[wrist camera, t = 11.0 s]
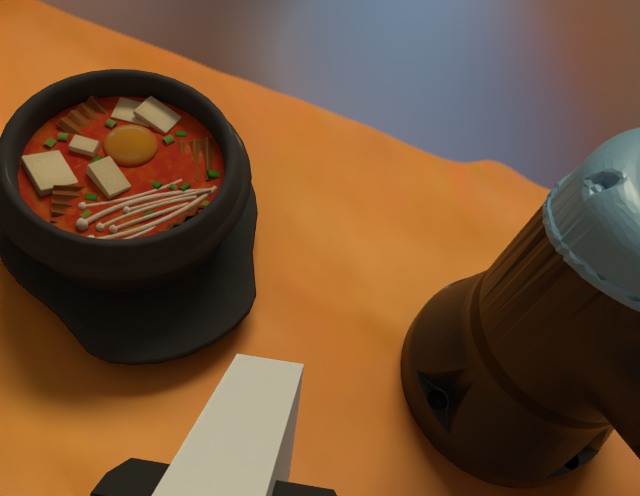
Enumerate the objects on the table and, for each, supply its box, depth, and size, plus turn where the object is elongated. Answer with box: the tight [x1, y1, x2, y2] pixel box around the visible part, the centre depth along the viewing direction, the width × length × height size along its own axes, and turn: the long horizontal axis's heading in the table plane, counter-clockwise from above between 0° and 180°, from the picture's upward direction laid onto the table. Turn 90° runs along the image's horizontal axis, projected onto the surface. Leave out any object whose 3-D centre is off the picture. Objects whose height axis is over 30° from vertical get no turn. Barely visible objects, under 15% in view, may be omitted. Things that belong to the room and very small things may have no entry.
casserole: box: [0, 69, 258, 365], centre depth 42 cm, size 25×19×8 cm
